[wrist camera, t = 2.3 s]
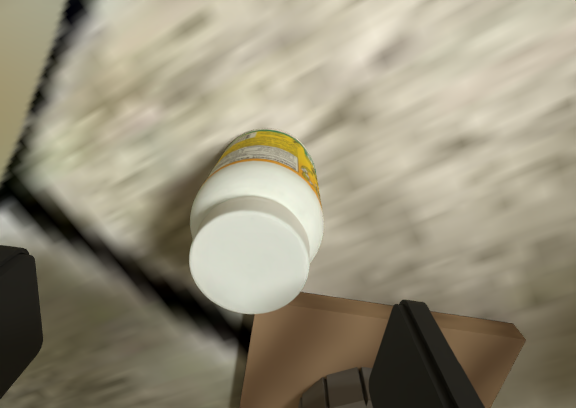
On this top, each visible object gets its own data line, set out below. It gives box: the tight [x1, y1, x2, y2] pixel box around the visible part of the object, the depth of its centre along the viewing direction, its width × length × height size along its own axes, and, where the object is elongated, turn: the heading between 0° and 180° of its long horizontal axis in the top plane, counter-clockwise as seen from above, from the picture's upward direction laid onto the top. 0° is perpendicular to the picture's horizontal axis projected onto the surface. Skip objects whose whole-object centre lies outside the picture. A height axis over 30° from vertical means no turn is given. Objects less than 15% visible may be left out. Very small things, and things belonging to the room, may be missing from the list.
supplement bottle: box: [189, 128, 324, 314], centre depth 17 cm, size 5×5×10 cm
